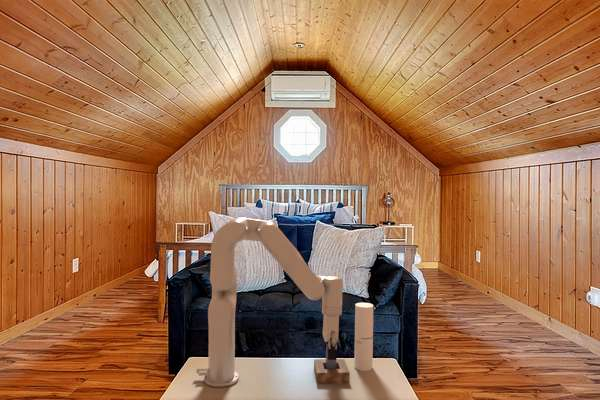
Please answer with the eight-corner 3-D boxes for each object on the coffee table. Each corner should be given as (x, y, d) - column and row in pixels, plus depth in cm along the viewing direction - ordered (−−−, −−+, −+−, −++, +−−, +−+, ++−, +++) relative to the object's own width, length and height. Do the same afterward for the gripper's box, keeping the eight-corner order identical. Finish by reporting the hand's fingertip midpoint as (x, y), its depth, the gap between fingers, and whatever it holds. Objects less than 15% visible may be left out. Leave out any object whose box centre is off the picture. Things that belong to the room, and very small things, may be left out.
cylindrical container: (372, 371, 164) (373, 308, 163) (353, 369, 165) (354, 306, 165) (372, 364, 171) (373, 303, 170) (354, 362, 172) (356, 302, 172)
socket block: (316, 383, 153) (317, 372, 153) (313, 369, 165) (314, 359, 165) (349, 383, 153) (349, 372, 153) (344, 369, 165) (344, 359, 165)
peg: (326, 378, 157) (326, 346, 157) (325, 373, 161) (325, 343, 161) (337, 378, 157) (337, 346, 157) (335, 373, 161) (336, 342, 161)
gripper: (319, 303, 167) (318, 345, 167) (324, 316, 150) (323, 363, 150) (338, 303, 167) (337, 345, 168) (345, 316, 150) (343, 363, 150)
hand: (330, 354), depth 159 cm, fingers open, 9 cm apart
